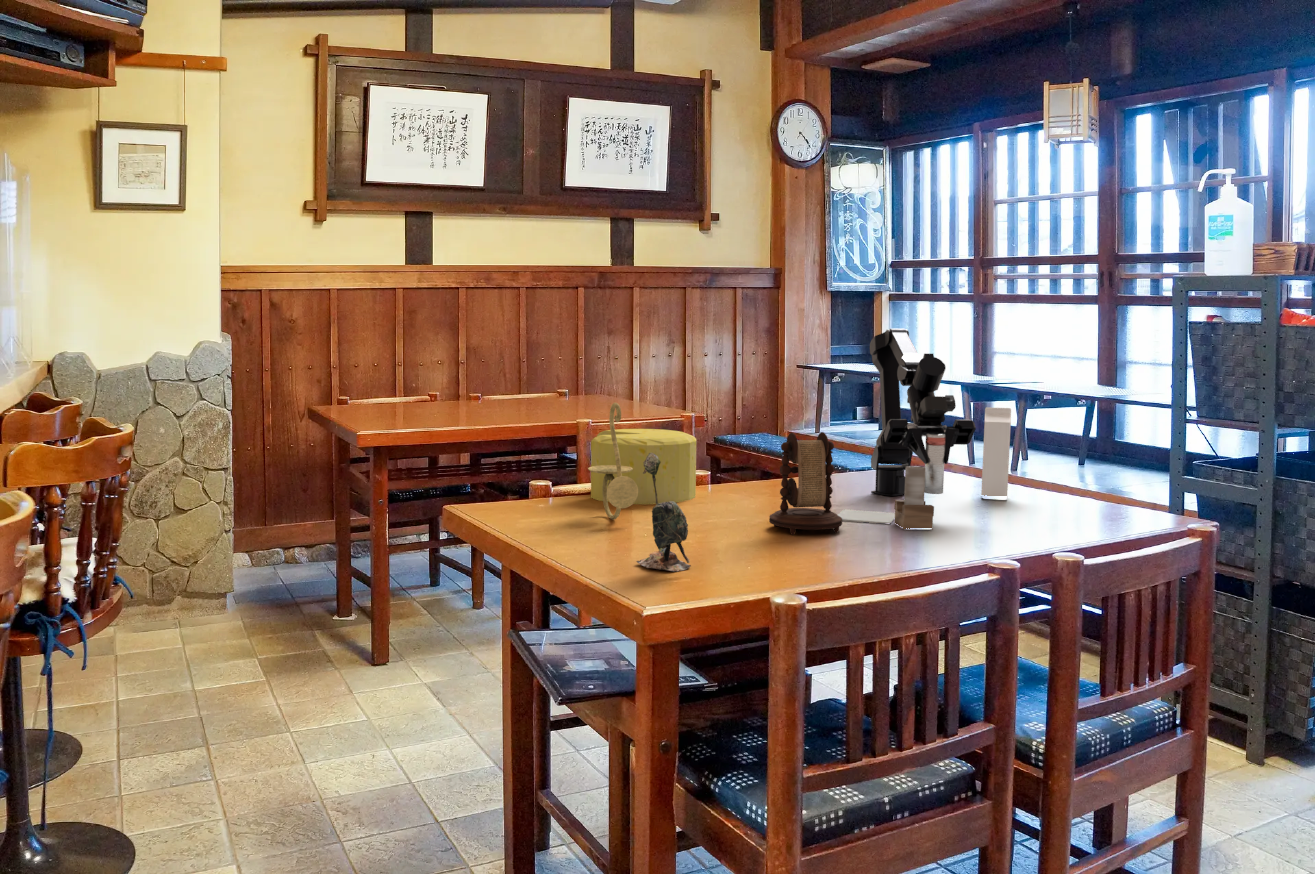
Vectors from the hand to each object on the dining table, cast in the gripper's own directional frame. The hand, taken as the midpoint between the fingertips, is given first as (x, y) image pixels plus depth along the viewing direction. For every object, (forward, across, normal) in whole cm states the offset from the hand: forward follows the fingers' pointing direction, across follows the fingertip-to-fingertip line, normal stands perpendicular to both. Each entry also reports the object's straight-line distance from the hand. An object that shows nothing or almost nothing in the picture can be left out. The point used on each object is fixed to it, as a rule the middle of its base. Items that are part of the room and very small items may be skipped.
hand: (936, 462), depth 233 cm
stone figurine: (+39, -60, -21) cm, 74 cm away
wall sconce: (+8, -68, +11) cm, 70 cm away
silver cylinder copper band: (+4, 0, +6) cm, 7 cm away
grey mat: (+5, -13, +13) cm, 19 cm away
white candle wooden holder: (+13, -6, +5) cm, 15 cm away
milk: (-12, +24, +31) cm, 41 cm away
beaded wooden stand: (+15, -29, +4) cm, 33 cm away
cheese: (-15, -61, +34) cm, 71 cm away
